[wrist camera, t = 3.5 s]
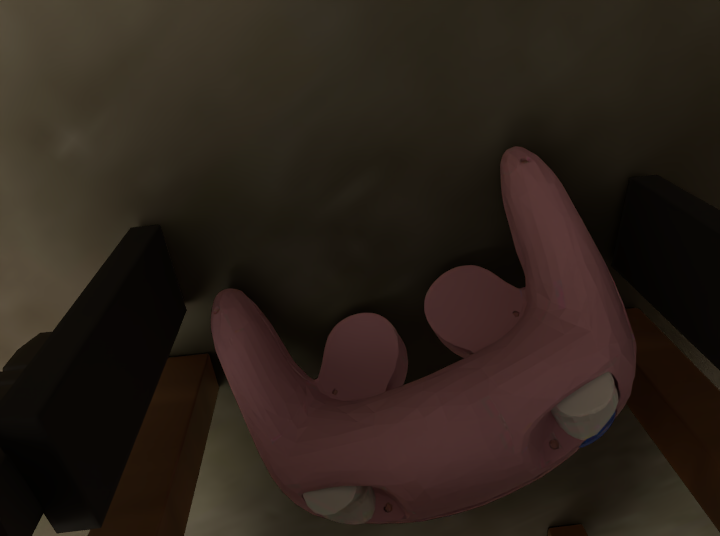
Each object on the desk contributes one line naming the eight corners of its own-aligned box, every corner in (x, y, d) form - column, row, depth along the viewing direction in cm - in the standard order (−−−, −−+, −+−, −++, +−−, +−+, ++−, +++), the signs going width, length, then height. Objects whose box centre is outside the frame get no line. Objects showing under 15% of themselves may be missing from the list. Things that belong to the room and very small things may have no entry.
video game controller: (274, 343, 17) (320, 571, 13) (188, 288, 13) (217, 584, 9) (546, 217, 15) (690, 436, 12) (535, 115, 12) (742, 387, 8)
